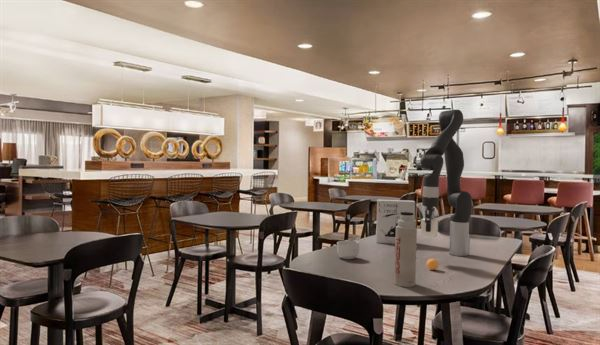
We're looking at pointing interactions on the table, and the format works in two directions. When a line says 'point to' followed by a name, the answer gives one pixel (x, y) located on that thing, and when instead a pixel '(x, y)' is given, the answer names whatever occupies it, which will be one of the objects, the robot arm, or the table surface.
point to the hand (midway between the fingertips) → (429, 230)
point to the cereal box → (390, 218)
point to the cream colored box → (433, 228)
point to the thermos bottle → (405, 251)
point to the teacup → (348, 249)
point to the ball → (432, 264)
